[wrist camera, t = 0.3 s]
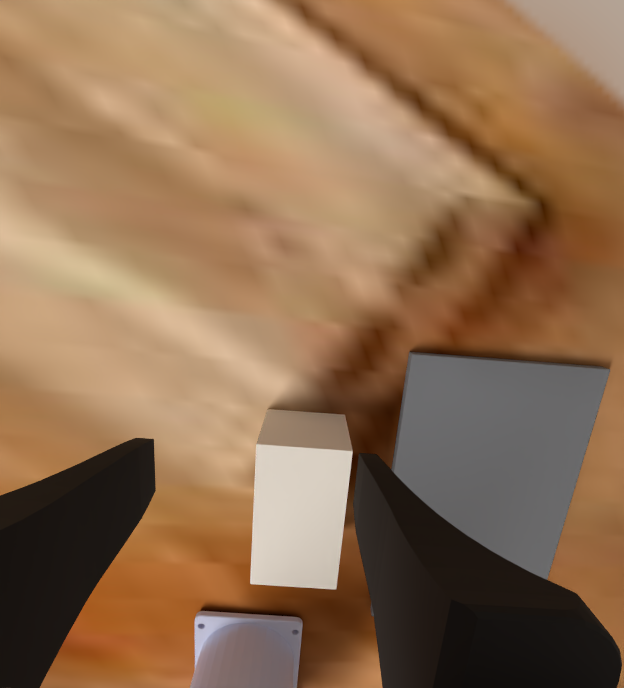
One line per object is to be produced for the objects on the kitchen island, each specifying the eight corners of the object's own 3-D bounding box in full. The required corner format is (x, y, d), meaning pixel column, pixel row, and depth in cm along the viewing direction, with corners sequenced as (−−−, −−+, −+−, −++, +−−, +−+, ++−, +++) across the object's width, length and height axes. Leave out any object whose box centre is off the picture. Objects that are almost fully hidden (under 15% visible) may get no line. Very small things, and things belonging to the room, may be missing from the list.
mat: (527, 618, 25) (532, 626, 25) (370, 608, 25) (371, 616, 25) (602, 366, 21) (610, 369, 20) (409, 351, 21) (412, 354, 20)
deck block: (331, 529, 24) (336, 589, 19) (261, 524, 24) (250, 584, 19) (344, 413, 22) (352, 451, 17) (267, 407, 22) (256, 444, 17)
